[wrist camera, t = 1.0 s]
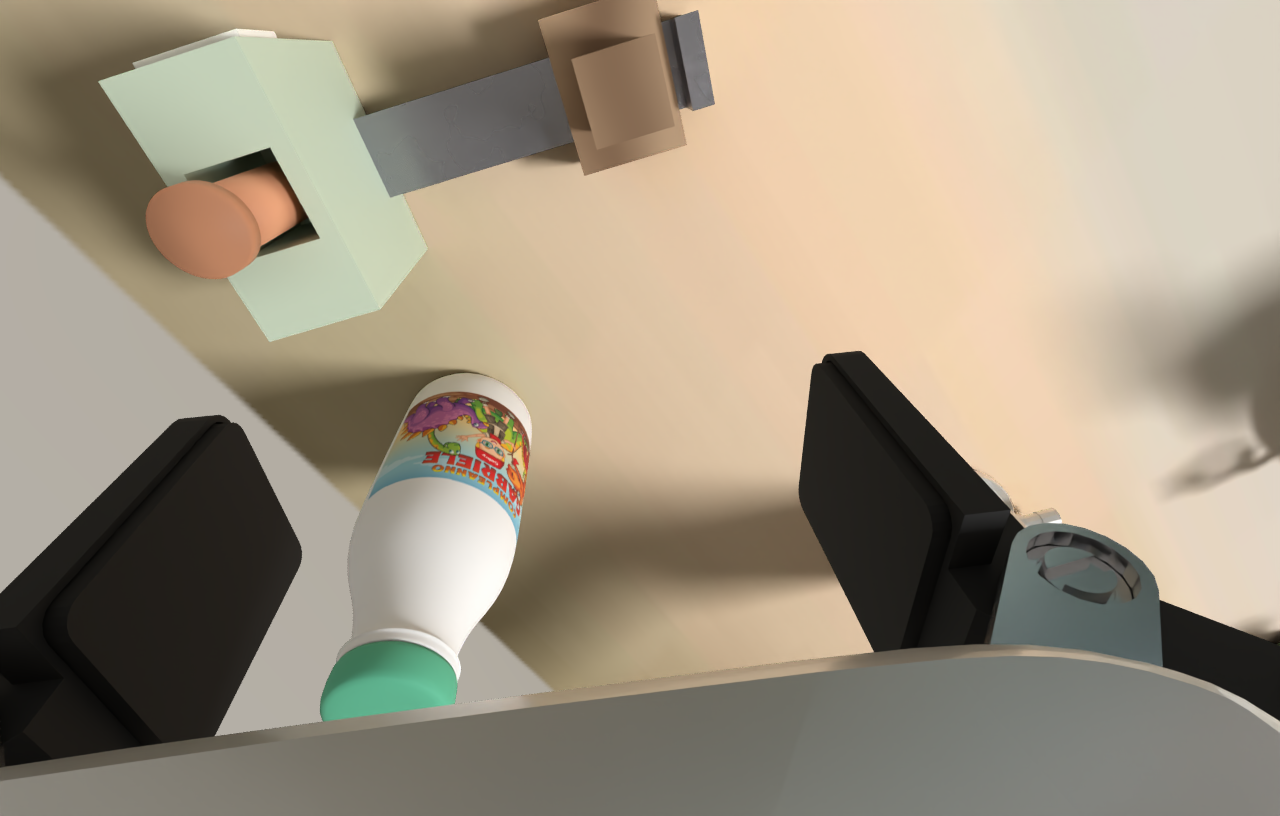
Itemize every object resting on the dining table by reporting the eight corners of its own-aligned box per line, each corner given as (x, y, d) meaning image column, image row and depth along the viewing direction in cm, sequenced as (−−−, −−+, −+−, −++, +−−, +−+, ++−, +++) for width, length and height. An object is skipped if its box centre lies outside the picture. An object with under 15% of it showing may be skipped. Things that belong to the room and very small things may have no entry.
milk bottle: (508, 484, 41) (455, 792, 24) (395, 447, 39) (248, 758, 22) (551, 396, 38) (526, 678, 21) (431, 349, 36) (291, 624, 18)
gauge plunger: (301, 143, 24) (212, 172, 18) (339, 216, 26) (268, 264, 20) (233, 165, 24) (123, 200, 19) (275, 236, 26) (186, 289, 20)
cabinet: (327, 31, 27) (227, 22, 20) (427, 248, 33) (380, 309, 25) (227, 63, 28) (89, 68, 20) (342, 273, 33) (269, 341, 25)
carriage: (646, -11, 27) (671, -36, 19) (678, 137, 30) (710, 165, 23) (541, 22, 27) (526, 11, 20) (584, 166, 31) (584, 203, 23)
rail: (683, 15, 28) (697, 10, 25) (699, 98, 30) (714, 104, 26) (366, 115, 29) (337, 123, 26) (400, 189, 31) (378, 206, 27)
